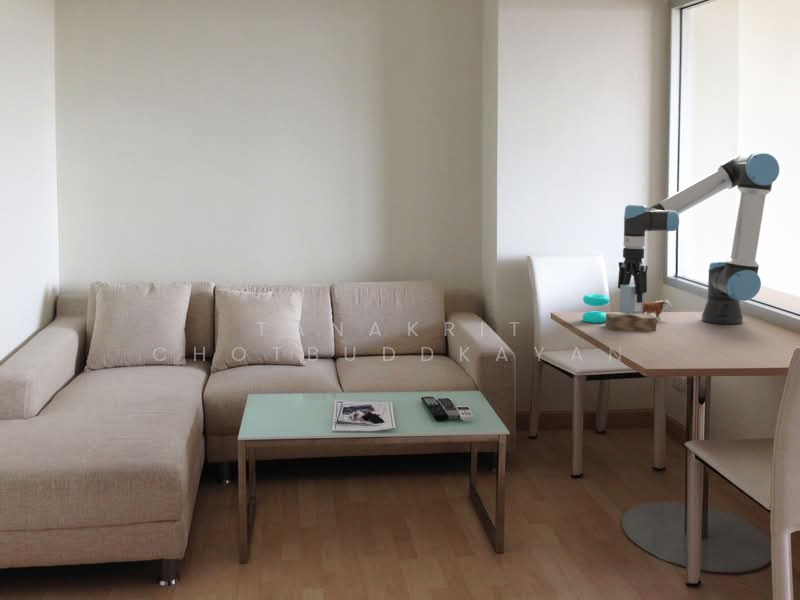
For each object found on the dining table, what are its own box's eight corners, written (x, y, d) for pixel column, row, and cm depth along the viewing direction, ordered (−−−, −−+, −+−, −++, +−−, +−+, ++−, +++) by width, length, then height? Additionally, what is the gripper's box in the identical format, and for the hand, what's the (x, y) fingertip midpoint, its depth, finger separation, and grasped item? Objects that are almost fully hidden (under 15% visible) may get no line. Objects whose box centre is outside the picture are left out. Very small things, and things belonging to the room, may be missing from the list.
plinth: (647, 326, 361) (648, 313, 360) (655, 331, 351) (656, 318, 350) (605, 326, 360) (606, 313, 360) (612, 331, 350) (612, 318, 350)
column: (632, 310, 359) (633, 284, 357) (642, 313, 353) (643, 286, 352) (619, 311, 356) (620, 285, 354) (629, 314, 351) (630, 287, 349)
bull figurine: (671, 321, 369) (672, 300, 368) (635, 320, 372) (636, 299, 370) (669, 319, 374) (670, 299, 372) (634, 318, 376) (635, 298, 375)
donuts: (601, 298, 361) (578, 295, 367) (600, 324, 362) (577, 321, 369) (614, 295, 368) (591, 293, 375) (613, 321, 370) (590, 318, 376)
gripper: (609, 245, 358) (606, 306, 361) (642, 250, 341) (640, 314, 344) (625, 244, 361) (622, 305, 365) (659, 249, 344) (656, 313, 348)
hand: (631, 309), depth 354 cm, fingers open, 6 cm apart
